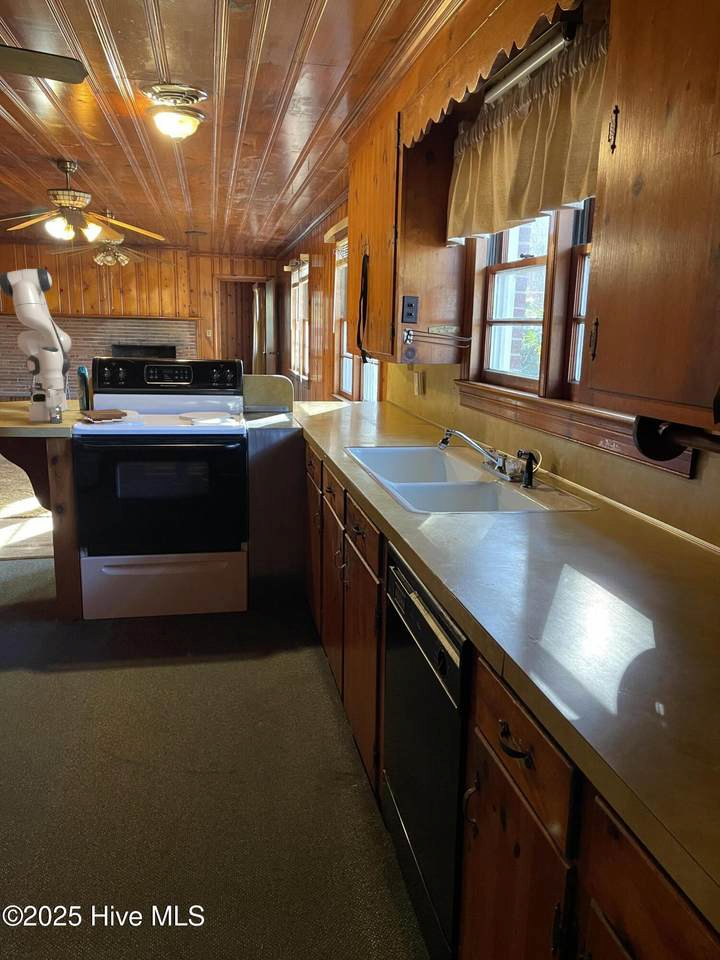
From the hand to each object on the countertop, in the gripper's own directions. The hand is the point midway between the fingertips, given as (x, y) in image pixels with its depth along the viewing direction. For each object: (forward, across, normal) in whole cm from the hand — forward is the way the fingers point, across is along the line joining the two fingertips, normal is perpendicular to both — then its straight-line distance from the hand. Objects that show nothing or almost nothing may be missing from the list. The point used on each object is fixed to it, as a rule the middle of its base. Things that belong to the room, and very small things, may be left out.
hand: (55, 415), depth 313 cm
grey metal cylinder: (+3, 0, 0) cm, 3 cm away
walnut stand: (+3, +4, -20) cm, 21 cm away
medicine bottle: (+3, +9, +8) cm, 12 cm away
